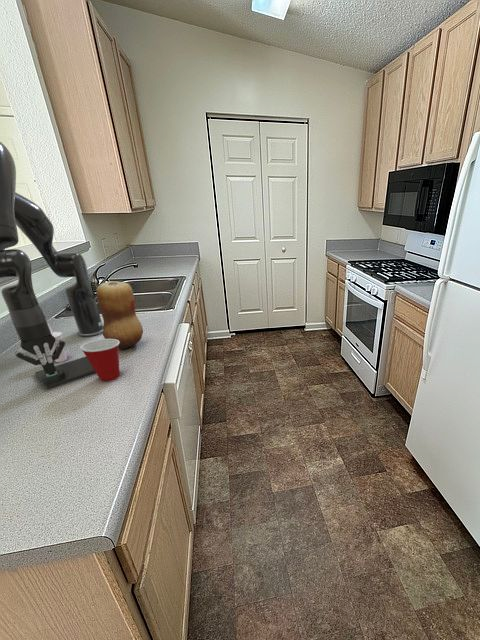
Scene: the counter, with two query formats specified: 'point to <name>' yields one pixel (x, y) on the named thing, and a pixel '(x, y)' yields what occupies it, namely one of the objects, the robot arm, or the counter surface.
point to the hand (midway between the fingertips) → (51, 373)
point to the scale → (67, 373)
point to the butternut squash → (119, 313)
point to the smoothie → (59, 337)
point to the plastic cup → (103, 357)
